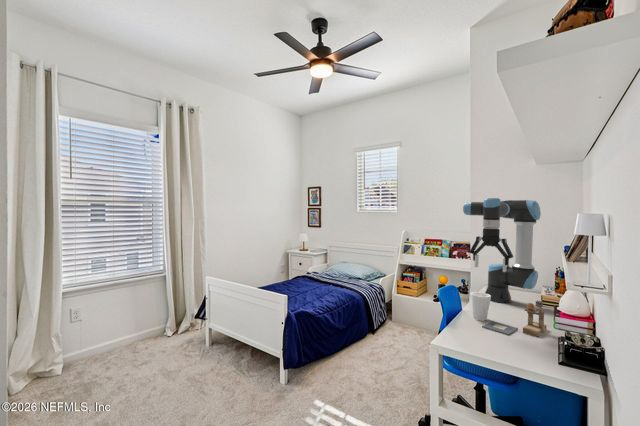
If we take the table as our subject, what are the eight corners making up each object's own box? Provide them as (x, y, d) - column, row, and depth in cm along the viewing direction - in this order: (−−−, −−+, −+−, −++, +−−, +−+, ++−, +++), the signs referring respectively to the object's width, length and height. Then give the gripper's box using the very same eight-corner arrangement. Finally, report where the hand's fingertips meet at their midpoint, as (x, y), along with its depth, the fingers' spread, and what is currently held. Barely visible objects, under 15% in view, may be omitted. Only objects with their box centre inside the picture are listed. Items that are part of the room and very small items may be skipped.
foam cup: (492, 322, 160) (493, 297, 160) (473, 320, 162) (474, 296, 162) (486, 316, 170) (487, 292, 169) (468, 314, 171) (469, 291, 171)
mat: (491, 321, 161) (491, 320, 161) (517, 329, 152) (517, 327, 152) (482, 327, 153) (482, 325, 153) (508, 335, 144) (508, 334, 144)
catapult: (532, 325, 157) (533, 296, 156) (546, 329, 152) (547, 298, 152) (520, 334, 146) (522, 302, 146) (535, 338, 141) (537, 305, 141)
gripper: (463, 226, 166) (462, 266, 166) (515, 230, 146) (514, 274, 147) (469, 226, 170) (468, 264, 171) (521, 229, 151) (520, 272, 152)
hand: (490, 269), depth 159 cm, fingers open, 13 cm apart
